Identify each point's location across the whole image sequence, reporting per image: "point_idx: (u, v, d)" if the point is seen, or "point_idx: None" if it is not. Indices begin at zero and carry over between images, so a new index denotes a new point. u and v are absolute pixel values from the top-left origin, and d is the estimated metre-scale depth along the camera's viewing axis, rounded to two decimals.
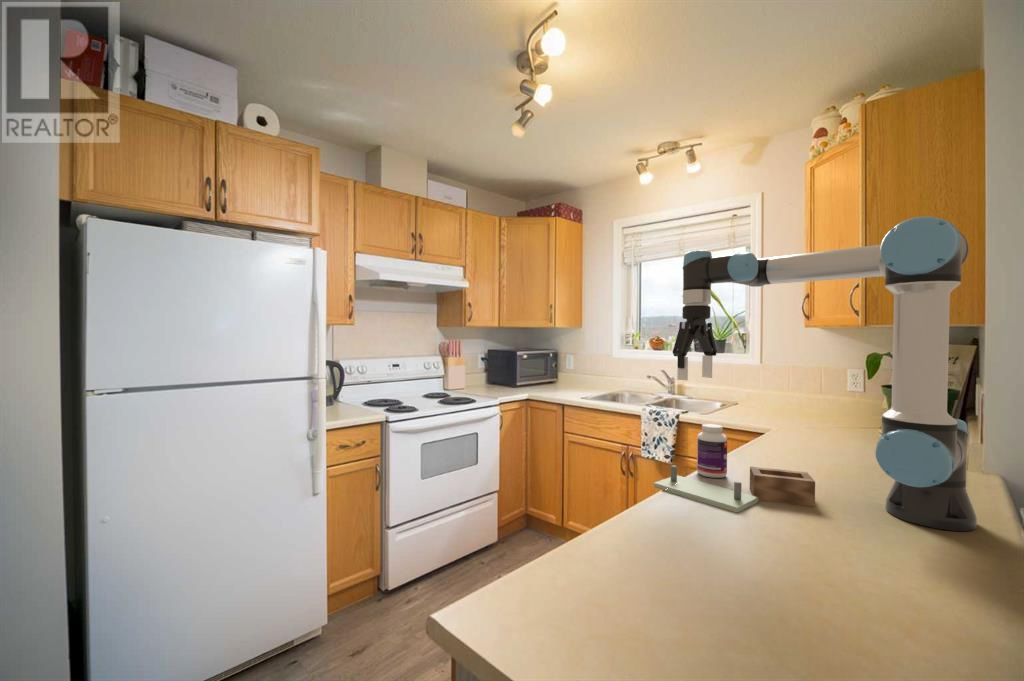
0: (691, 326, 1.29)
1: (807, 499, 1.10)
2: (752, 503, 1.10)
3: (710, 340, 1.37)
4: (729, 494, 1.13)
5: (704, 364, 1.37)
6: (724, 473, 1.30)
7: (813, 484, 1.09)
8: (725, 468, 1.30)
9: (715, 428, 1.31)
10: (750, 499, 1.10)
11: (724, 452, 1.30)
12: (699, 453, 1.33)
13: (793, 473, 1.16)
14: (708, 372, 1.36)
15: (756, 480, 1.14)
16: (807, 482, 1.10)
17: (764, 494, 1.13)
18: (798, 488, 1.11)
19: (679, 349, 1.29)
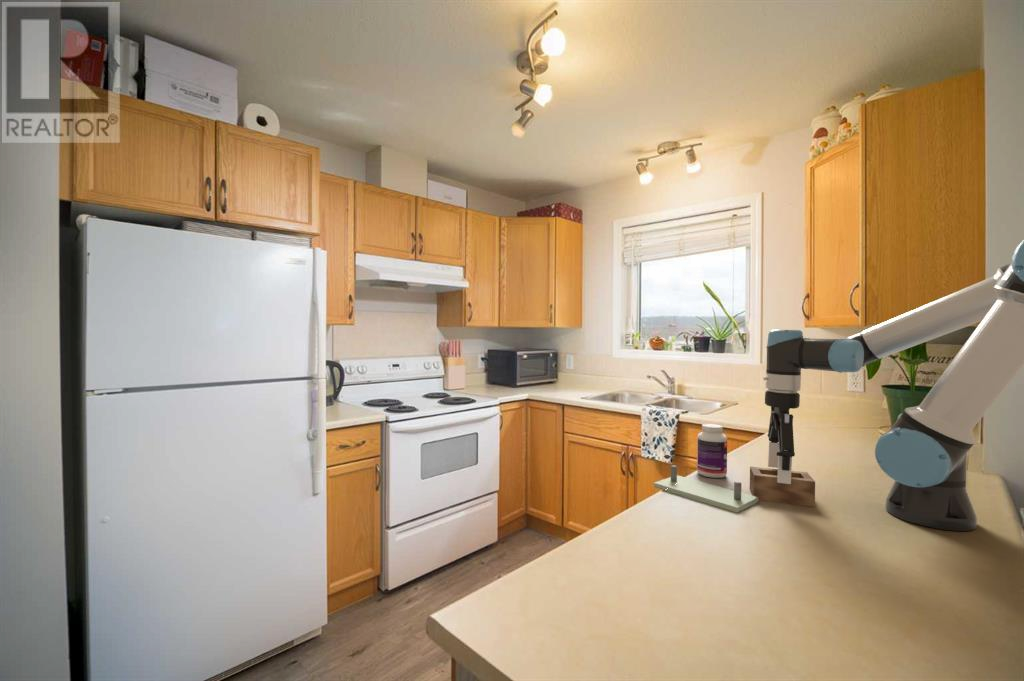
0: None
1: (807, 499, 1.10)
2: (752, 503, 1.10)
3: None
4: (729, 494, 1.13)
5: (772, 452, 1.22)
6: (724, 473, 1.30)
7: (813, 484, 1.09)
8: (725, 468, 1.30)
9: (715, 428, 1.31)
10: (750, 499, 1.10)
11: (724, 452, 1.30)
12: (699, 453, 1.33)
13: (793, 473, 1.16)
14: (777, 462, 1.21)
15: (756, 480, 1.14)
16: (807, 482, 1.10)
17: (764, 494, 1.13)
18: (798, 488, 1.11)
19: None
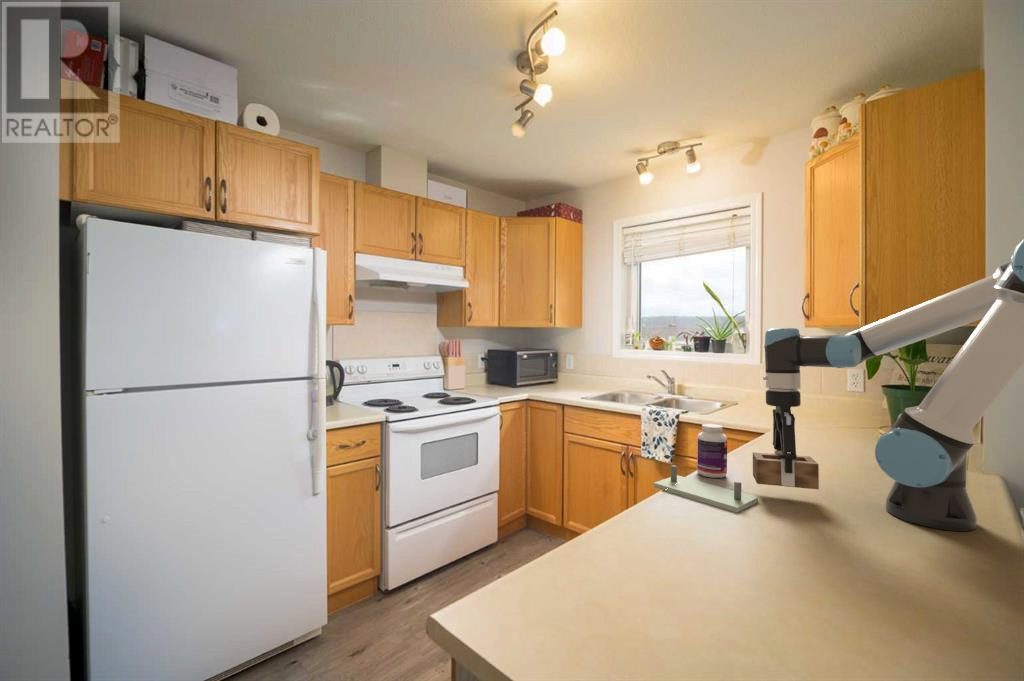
0: None
1: (811, 482, 1.09)
2: (752, 503, 1.10)
3: None
4: (729, 494, 1.13)
5: None
6: (724, 473, 1.30)
7: (816, 467, 1.09)
8: (725, 468, 1.30)
9: (715, 428, 1.31)
10: (750, 499, 1.10)
11: (724, 452, 1.30)
12: (699, 453, 1.33)
13: (796, 457, 1.16)
14: None
15: (759, 464, 1.13)
16: (810, 465, 1.09)
17: (767, 479, 1.12)
18: (801, 471, 1.10)
19: None
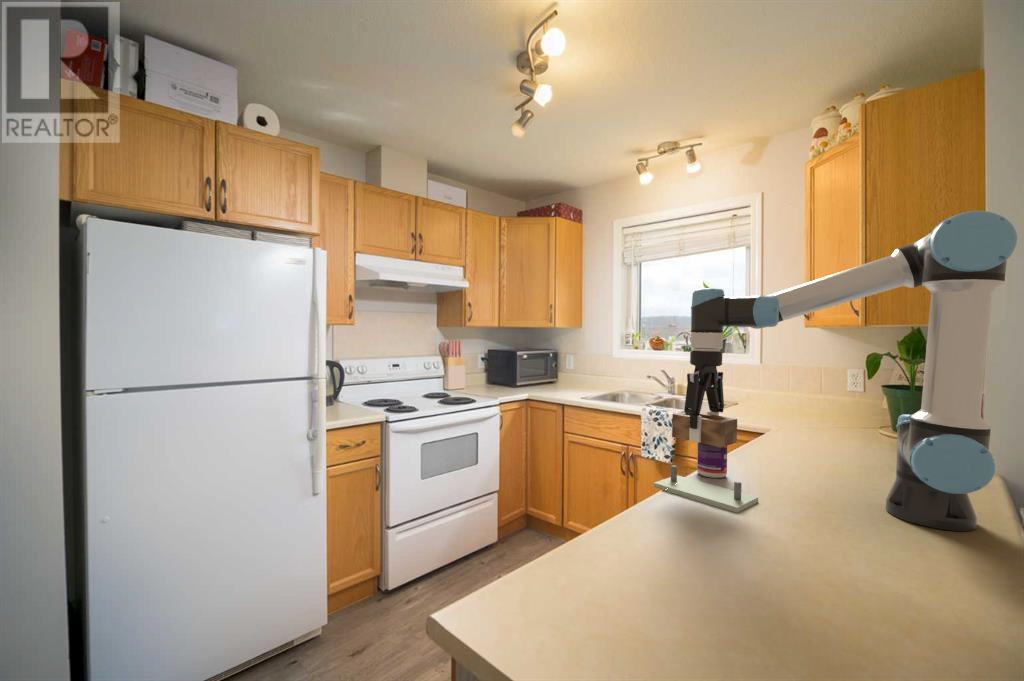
0: (700, 376, 1.14)
1: (714, 439, 1.11)
2: (752, 503, 1.10)
3: (718, 392, 1.20)
4: (729, 494, 1.13)
5: None
6: (724, 473, 1.30)
7: (720, 425, 1.10)
8: (725, 468, 1.30)
9: None
10: (750, 499, 1.10)
11: (724, 452, 1.30)
12: (699, 453, 1.33)
13: (720, 418, 1.16)
14: None
15: (674, 419, 1.19)
16: (715, 423, 1.11)
17: (680, 433, 1.18)
18: (707, 428, 1.12)
19: None
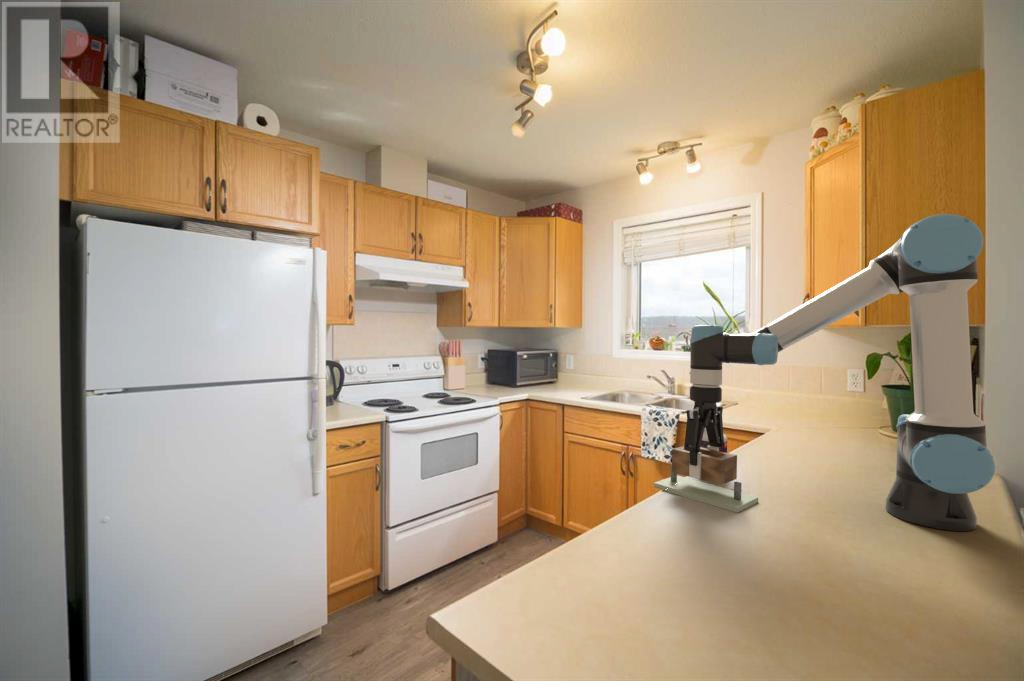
0: (700, 412, 1.14)
1: (714, 477, 1.11)
2: (752, 503, 1.10)
3: (718, 427, 1.20)
4: (729, 494, 1.13)
5: None
6: None
7: (719, 463, 1.10)
8: None
9: None
10: (750, 499, 1.10)
11: None
12: None
13: (720, 454, 1.16)
14: None
15: (674, 454, 1.19)
16: (714, 460, 1.11)
17: (680, 468, 1.18)
18: (707, 465, 1.12)
19: None
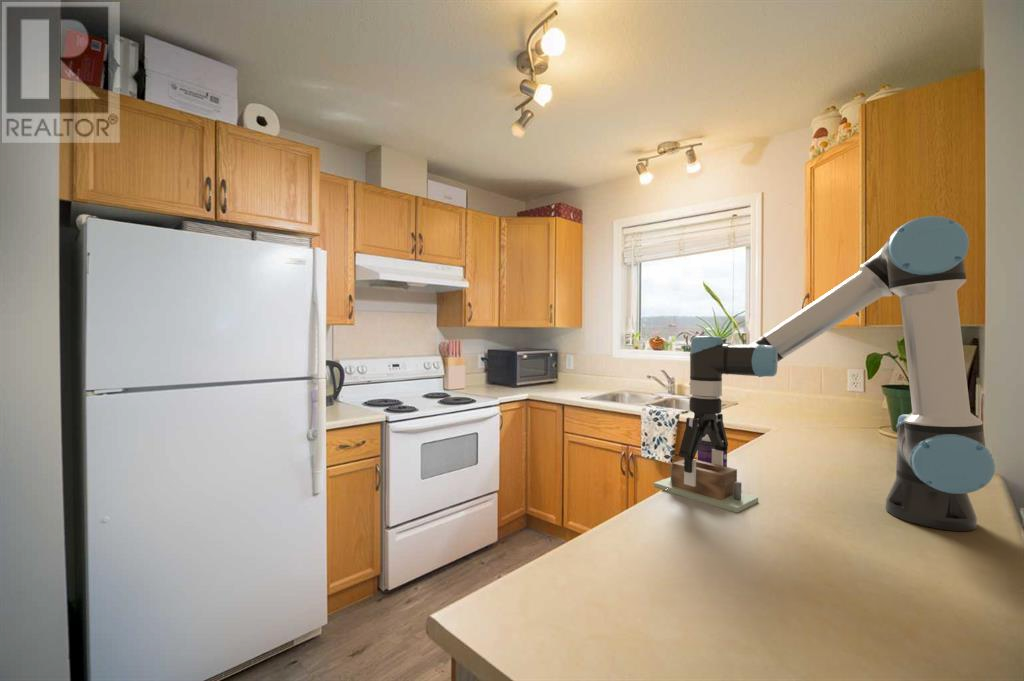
0: (700, 423, 1.14)
1: (714, 492, 1.11)
2: (752, 503, 1.10)
3: (720, 433, 1.21)
4: None
5: (714, 460, 1.21)
6: None
7: (719, 478, 1.10)
8: None
9: None
10: (750, 499, 1.10)
11: (724, 452, 1.30)
12: (699, 453, 1.33)
13: (720, 468, 1.16)
14: None
15: (674, 468, 1.19)
16: (714, 475, 1.11)
17: (680, 482, 1.18)
18: (707, 480, 1.12)
19: None
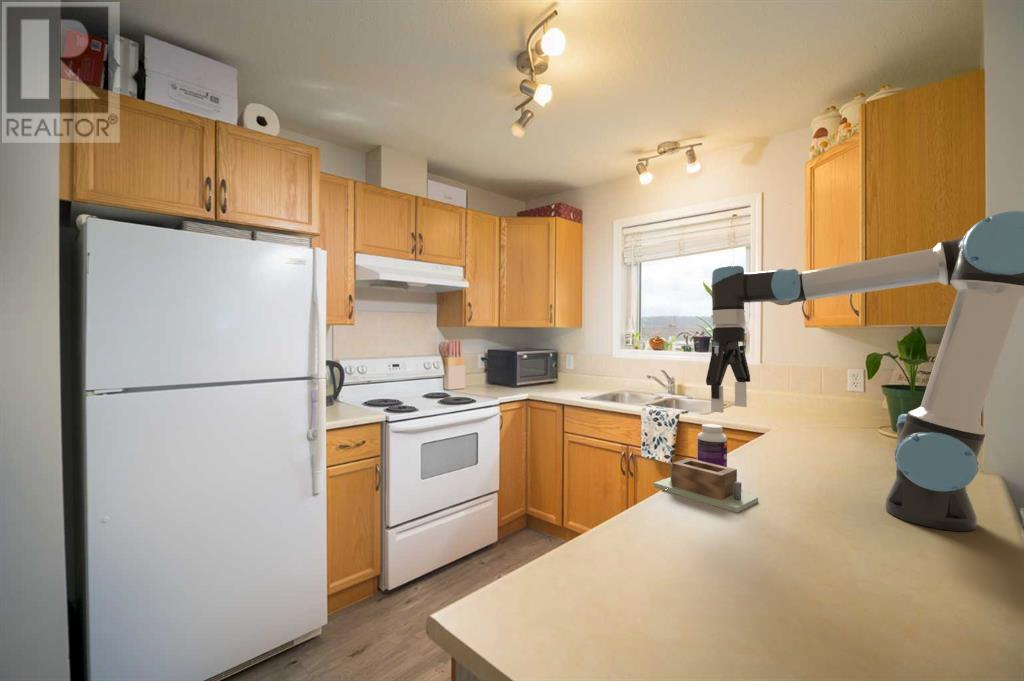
0: (725, 351, 1.15)
1: (714, 492, 1.11)
2: (752, 503, 1.10)
3: (743, 365, 1.23)
4: None
5: (737, 392, 1.23)
6: None
7: (719, 478, 1.10)
8: None
9: (715, 428, 1.31)
10: (750, 499, 1.10)
11: (724, 452, 1.30)
12: (699, 453, 1.33)
13: (720, 468, 1.16)
14: (742, 401, 1.22)
15: (674, 468, 1.19)
16: (714, 475, 1.11)
17: (680, 482, 1.18)
18: (707, 480, 1.12)
19: (712, 377, 1.14)
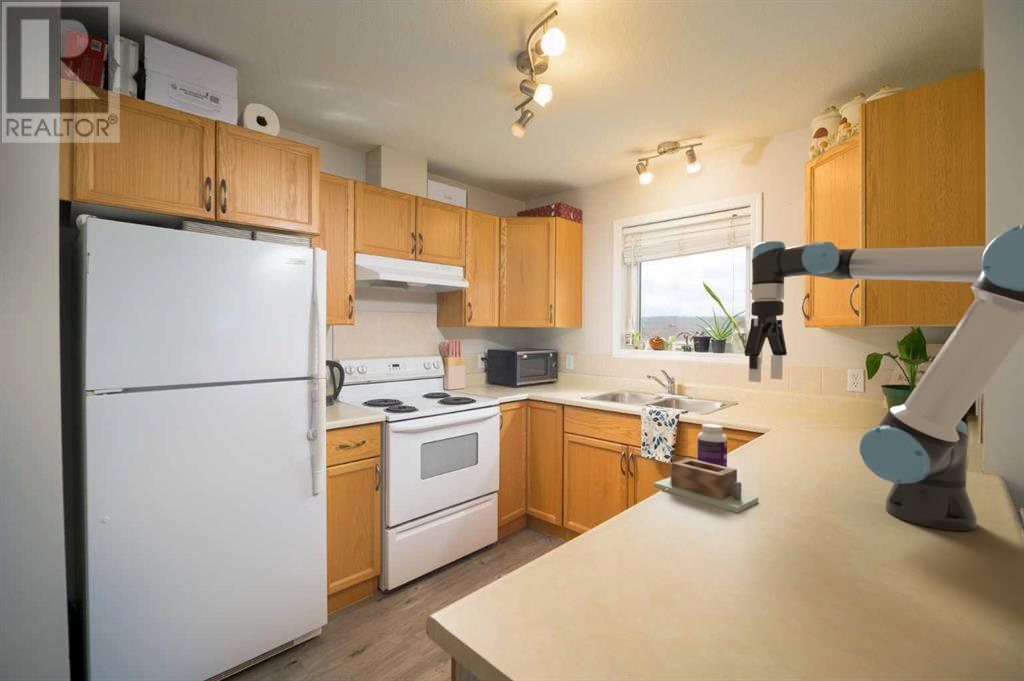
0: (763, 323, 1.19)
1: (714, 492, 1.11)
2: (752, 503, 1.10)
3: (780, 339, 1.27)
4: None
5: (773, 365, 1.27)
6: None
7: (719, 478, 1.10)
8: None
9: (715, 428, 1.31)
10: (750, 499, 1.10)
11: (724, 452, 1.30)
12: (699, 453, 1.33)
13: (720, 468, 1.16)
14: (778, 373, 1.26)
15: (674, 468, 1.19)
16: (714, 475, 1.11)
17: (680, 482, 1.18)
18: (707, 480, 1.12)
19: (751, 348, 1.19)
